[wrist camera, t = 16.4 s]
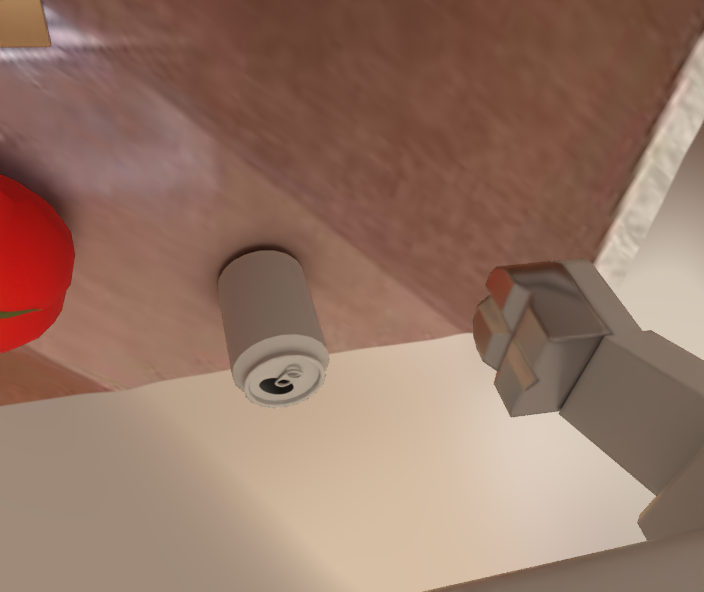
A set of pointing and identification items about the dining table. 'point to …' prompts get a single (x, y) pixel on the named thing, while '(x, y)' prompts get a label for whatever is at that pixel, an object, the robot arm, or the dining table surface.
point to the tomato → (30, 264)
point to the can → (272, 329)
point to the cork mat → (23, 24)
